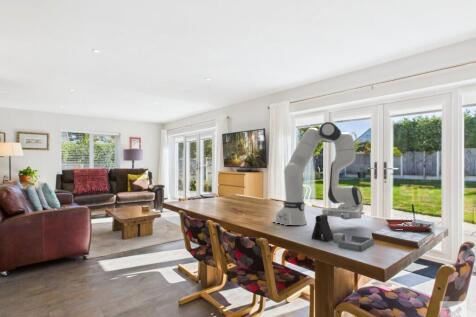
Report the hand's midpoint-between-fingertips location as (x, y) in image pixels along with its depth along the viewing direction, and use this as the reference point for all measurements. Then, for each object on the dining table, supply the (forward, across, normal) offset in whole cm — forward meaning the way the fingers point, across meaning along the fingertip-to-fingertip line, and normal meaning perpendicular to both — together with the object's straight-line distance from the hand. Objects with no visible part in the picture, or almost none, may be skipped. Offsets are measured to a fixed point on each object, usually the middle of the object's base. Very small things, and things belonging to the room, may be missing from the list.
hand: (334, 215), depth 146 cm
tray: (+13, +16, +10) cm, 23 cm away
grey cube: (+13, +8, +10) cm, 18 cm away
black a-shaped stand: (+13, -1, +10) cm, 16 cm away
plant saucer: (-37, +23, +12) cm, 46 cm away
